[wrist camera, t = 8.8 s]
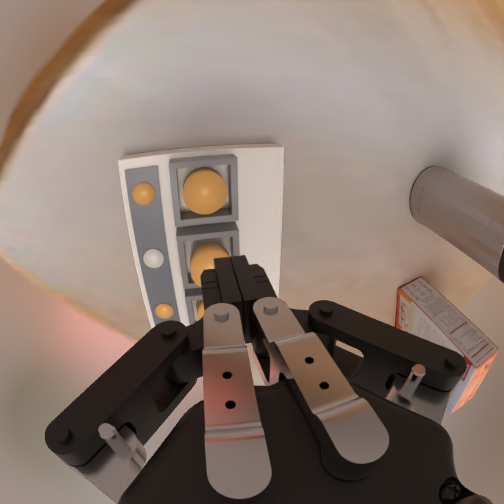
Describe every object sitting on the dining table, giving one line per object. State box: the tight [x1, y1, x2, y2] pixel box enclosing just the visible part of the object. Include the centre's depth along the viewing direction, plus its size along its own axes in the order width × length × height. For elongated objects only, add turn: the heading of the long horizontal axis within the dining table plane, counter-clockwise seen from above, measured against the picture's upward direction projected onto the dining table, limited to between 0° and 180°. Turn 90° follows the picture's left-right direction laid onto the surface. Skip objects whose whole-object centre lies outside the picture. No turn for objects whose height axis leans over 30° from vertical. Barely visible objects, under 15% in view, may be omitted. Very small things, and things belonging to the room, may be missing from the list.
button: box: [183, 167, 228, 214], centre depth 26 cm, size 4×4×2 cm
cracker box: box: [396, 277, 499, 413], centre depth 40 cm, size 14×6×21 cm, turn 16°
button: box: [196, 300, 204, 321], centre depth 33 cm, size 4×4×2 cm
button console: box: [118, 143, 284, 328], centre depth 31 cm, size 16×21×5 cm
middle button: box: [190, 243, 230, 287], centre depth 28 cm, size 4×4×2 cm
